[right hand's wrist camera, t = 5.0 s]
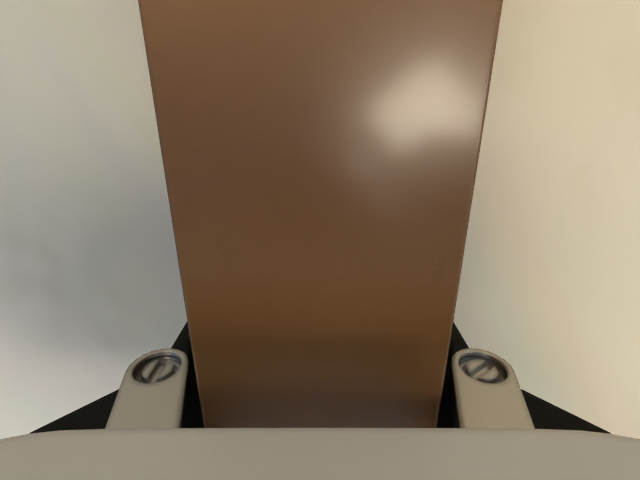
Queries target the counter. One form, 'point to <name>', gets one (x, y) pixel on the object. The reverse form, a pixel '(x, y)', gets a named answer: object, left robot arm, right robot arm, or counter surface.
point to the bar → (320, 198)
